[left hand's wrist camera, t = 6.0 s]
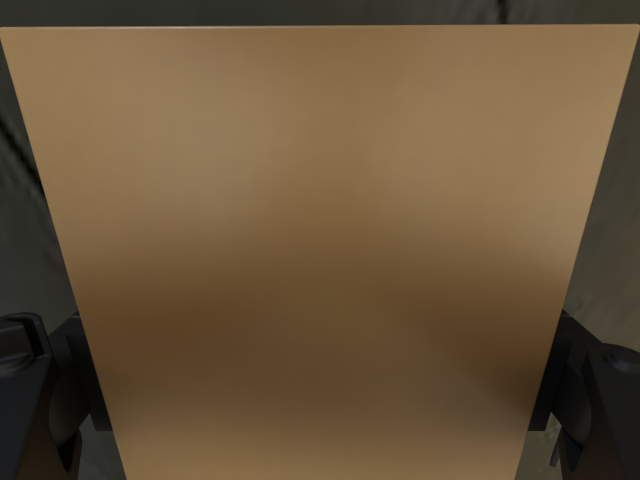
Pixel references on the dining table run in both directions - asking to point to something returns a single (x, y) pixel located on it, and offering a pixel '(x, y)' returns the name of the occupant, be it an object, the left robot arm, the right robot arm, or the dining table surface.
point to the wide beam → (320, 233)
